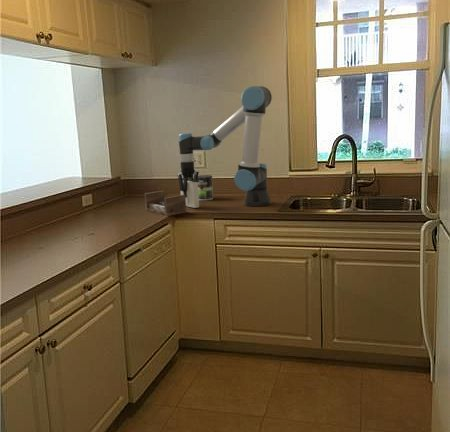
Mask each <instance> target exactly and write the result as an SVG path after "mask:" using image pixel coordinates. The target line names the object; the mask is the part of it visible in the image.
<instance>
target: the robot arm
mask: <svg viewBox="0 0 450 432" xmlns="http://www.w3.org/2000/svg"><path fill="white" fill-rule="evenodd" d="M240 96H241V98H240V101H241V104H242V106H241V107H240V108H238V109H237V110H236V111H235V112H234V113H232V114H231V115H230V116H229V117H228V118H227V119H226V120H224V121H223V122H222V123H221V124H220V125H219V126H217V127H216V128H214V130H213V131H211V133H209V134H207V135H202V136H201V135H200V136H193V134H192V133H191V132H186V133H185V132H183V133H180V134H178V145H179V148H178V149H179V160H180V173H177V175H176V176H177V179H178V185H179V192H180V191H183V193H184V195H185V199H186V203H189V196H188V192H187V182H188V181H192V182H198V176H199V173H200V172H199V171H196V170H195V162H194V151H211V150H212V149H215V148H217V147H219V146H220V145H221V144H222V142H223V141H225V139H227V137H229V136H231V134H233V133H234V132H235V131H236V130H237V129H239V128H240V127H241V126H242V125H243V124H244V127H243V128H244V129H243V141H242V151H241V160H240V162H239V163H238V164H237V172H235V175H234V180H233V181H234V184H235V186H236V187H237V188H238V189H239V190H240V191H244V192H245V191H246V193H245V196H244V199H243V206H245V207H264V206H269V205H271V204H272V202H271V201H272V200H271V199H272V198H271V197H270V193H269V191H268V172H267V171H268V168H267V165H266V163H259V162H258V161H259V151H260V143H261V142H260V141H261V132H262V131H261V130H262V119H263V117H264V116H265V115H266V109H267V107H269V106H270V104H271V103H272V100H273V99H272V98H273V96H272V93H271V91H270V90H269V88H267V87H265V86H263V85H262V86H258V85H250V86H248V87H247V88H245V89H244V90H243V92H242V93H241V95H240Z"/></svg>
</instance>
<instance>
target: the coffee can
mask: <svg viewBox="0 0 450 432" xmlns="http://www.w3.org/2000/svg"><path fill="white" fill-rule="evenodd" d="M213 186H214V185H213V176H212V175H209V174H205V175H203V174H201V175H198V196H199V201H211V200H213V199H214V195H213V193H214V190H213V189H214V187H213Z"/></svg>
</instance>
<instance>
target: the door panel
mask: <svg viewBox="0 0 450 432" xmlns="http://www.w3.org/2000/svg"><path fill="white" fill-rule="evenodd" d="M179 192H180V195H184V193H183V191H180V190H179ZM187 192H188V196H189V203H186V207H189V208H193V209H196V208H200V200H199V196H198V182H192V181H189V180H188V182H187Z"/></svg>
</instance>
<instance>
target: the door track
mask: <svg viewBox="0 0 450 432" xmlns="http://www.w3.org/2000/svg"><path fill="white" fill-rule="evenodd" d="M143 195H144V196H143V197H144V208H145V211H148V212H151V213H155V214H158V215H162V216H164V217H169V216H175V215H180V214H186V213H187V206H186V199H185V195H181V194H179V195H173V196H167V197H166V192H165V190H159V191H157V190H156V191H152V192H145V193H143Z"/></svg>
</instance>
